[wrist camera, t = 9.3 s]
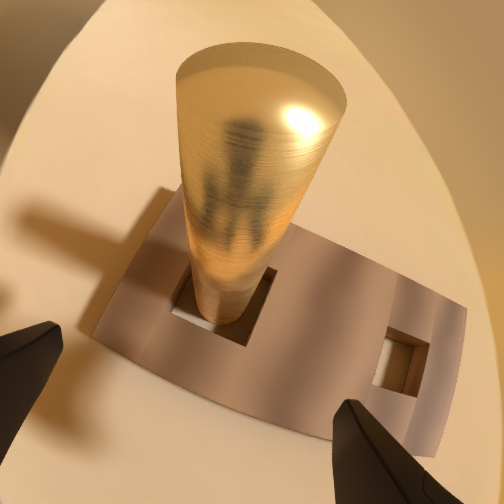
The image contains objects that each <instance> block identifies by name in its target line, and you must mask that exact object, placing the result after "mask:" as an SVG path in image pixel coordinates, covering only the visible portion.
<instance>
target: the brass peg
mask: <svg viewBox="0 0 504 504" xmlns="http://www.w3.org/2000/svg"><path fill="white" fill-rule="evenodd" d="M176 101H177V122H178V139H179V153H180V166H181V179H182V190H183V200H184V210H185V220H186V229H187V237H188V246H189V254H190V262H191V269H192V276H193V284H194V290H195V297H196V304H197V308H198V310H199V312H200V314H201V315H202V316H203V317H204V318H205V319H206V320H207V321H209V322H211V323H214V324H218V325H226V324H230V323H232V322H234V321H236V320H237V319H238V318H239V317H240V316H241V315H242V314H243V312H244V310H245V308H246V307H247V305H248V303H249V301H250V299H251V297H252V295H253V293H254V291H255V289H256V288H257V286H258V284H259V282H260V280H261V278H262V276H263V274H264V272H265V270H266V268H267V266H268V265H269V263H270V261H271V259H272V257H273V255H274V253H275V251H276V249H277V247H278V245H279V243H280V241H281V239H282V237H283V235H284V233H285V232H286V230H287V228H288V226H289V224H290V222H291V220H292V218H293V216H294V214H295V212H296V210H297V208H298V206H299V204H300V202H301V200H302V198H303V196H304V194H305V192H306V190H307V188H308V186H309V184H310V182H311V180H312V178H313V176H314V174H315V172H316V170H317V168H318V166H319V164H320V162H321V160H322V158H323V156H324V154H325V152H326V150H327V148H328V146H329V143H330V141H331V139H332V137H333V135H334V133H335V131H336V129H337V127H338V125H339V123H340V121H341V119H342V117H343V115H344V113H345V110H346V106H347V99H346V95H345V92H344V89H343V88H342V86H341V84H340V83H339V82H338V80H337V79H336V78H335V77H334V76H333V75H332V74H331V73H330V72H329V71H328V70H327V69H325V68H324V67H323V66H321V65H320V64H318V63H317V62H315V61H314V60H312V59H310V58H308V57H306V56H304V55H302V54H299V53H297V52H295V51H292V50H289V49H286V48H282V47H278V46H274V45H269V44H262V43H252V42H236V43H226V44H220V45H215V46H211V47H208V48H205V49H203V50H200V51H198V52H196V53H195V54H193V55H191V56H190V57H189V58H187V59H186V60H185V61H184V62H183V63H182V64H181V66H180V67H179V69H178V71H177V74H176Z"/></svg>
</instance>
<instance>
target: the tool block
mask: <svg viewBox="0 0 504 504" xmlns="http://www.w3.org/2000/svg"><path fill="white" fill-rule="evenodd" d="M191 273H192V269H191V262H190V254H189V246H188V237H187V229H186V220H185V210H184V200H183V190H182V183H181V185H180V186H179V188H178V189H177V191H176V192H175V194H174V195H173V197H172V198H171V200H170V201H169V203H168V204H167V206H166V207H165V209H164V210H163V212H162V213H161V215H160V216H159V218H158V220H157V221H156V223H155V224H154V226H153V227H152V229H151V231H150V232H149V234H148V235H147V237H146V239H145V240H144V242H143V244H142V245H141V247H140V248H139V250H138V252H137V253H136V255H135V257H134V259H133V260H132V262H131V264H130V265H129V267H128V269H127V271H126V272H125V274H124V276H123V278H122V279H121V281H120V283H119V285H118V287H117V288H116V290H115V292H114V294H113V296H112V297H111V299H110V301H109V303H108V305H107V307H106V309H105V311H104V313H103V314H102V316H101V318H100V320H99V322H98V324H97V326H96V328H95V330H94V332H93V334H92V336H91V337H93V338H95V339H96V340H98V341H99V342H101V343H102V344H104V345H106V346H107V347H109V348H111V349H112V350H114V351H116V352H117V353H119V354H121V355H123V356H124V357H126V358H128V359H130V360H131V361H133V362H135V363H137V364H138V365H140V366H142V367H144V368H146V369H148V370H150V371H152V372H153V373H155V374H157V375H159V376H161V377H163V378H165V379H167V380H169V381H171V382H173V383H175V384H177V385H179V386H182V387H184V388H186V389H188V390H190V391H192V392H194V393H197V394H199V395H201V396H203V397H206V398H208V399H210V400H213V401H215V402H217V403H220V404H222V405H225V406H227V407H230V408H232V409H235V410H237V411H240V412H242V413H245V414H248V415H251V416H253V417H256V418H259V419H262V420H265V421H267V422H270V423H273V424H276V425H279V426H283V427H286V428H289V429H292V430H295V431H299V432H302V433H306V434H309V435H313V436H317V437H320V438H324V439H328V440H332V437H333V417H334V415H335V413H336V412H337V410H338V409H339V407H340V406H341V404H342V402H343V401H344V400H345V399H356V400H359V401H360V402H361V403H362V404H363V405H364V407H365V408H366V409H367V410H368V411H369V412H370V413H371V414H372V415H373V416H374V417H375V418H376V419H377V420H378V421H379V422H380V423H381V424H382V426H383V427H384V428H385V429H386V430H387V431H388V432H389V433H390V434H391V435H392V436H393V437H394V438H395V439H396V440H397V441H398V442H399V443H400V444H401V445H402V446H403V447H404V448H405V449H406V450H407V452H408V453H409V454H410V455H413V456H422V457H432V458H435V455H436V452H437V449H438V447H439V444H440V441H441V438H442V435H443V431H444V428H445V425H446V421H447V418H448V414H449V411H450V407H451V403H452V399H453V395H454V391H455V386H456V382H457V377H458V372H459V367H460V361H461V355H462V349H463V342H464V335H465V327H466V317H467V308H465V307H463V306H461V305H459V304H457V303H455V302H454V301H452V300H450V299H448V298H446V297H444V296H442V295H440V294H438V293H436V292H434V291H433V290H431V289H429V288H427V287H425V286H423V285H421V284H419V283H417V282H415V281H413V280H411V279H409V278H407V277H405V276H403V275H401V274H399V273H397V272H395V271H393V270H391V269H389V268H387V267H385V266H383V265H381V264H379V263H376V262H374V261H372V260H370V259H368V258H366V257H364V256H362V255H360V254H358V253H356V252H353V251H351V250H349V249H347V248H345V247H343V246H341V245H338V244H336V243H334V242H332V241H330V240H328V239H325V238H323V237H321V236H319V235H317V234H314V233H312V232H310V231H308V230H306V229H303V228H301V227H299V226H297V225H294V224H292V223H290V224H289V226H288V228H287V230H286V232H285V233H284V235H283V237H282V239H281V241H280V243H279V245H278V247H277V249H276V251H275V253H274V255H273V257H272V259H271V261H270V263H269V265H268V266H267V268H266V270H265V272H264V274H263V276H262V277H263V278H265V279H268V280H270V281H271V283H270V286H269V288H268V290H267V293H266V295H265V298H264V300H263V302H262V305H261V307H260V310H259V312H258V314H257V317H256V319H255V321H254V324H253V326H252V329H251V331H250V333H249V336H248V338H247V340H246V343H245V345H244V346H242V345H240V344H237V343H235V342H233V341H230V340H228V339H226V338H224V337H221V336H219V335H217V334H215V333H212V332H210V331H208V330H206V329H204V328H202V327H199V326H197V325H195V324H193V323H191V322H189V321H187V320H185V319H183V318H181V317H178V316H176V315H174V314H172V313H171V311H172V309H173V308H174V306H175V304H176V302H177V300H178V298H179V296H180V294H181V292H182V290H183V288H184V286H185V284H186V282H187V280H188V278H189V276H190V274H191ZM385 336H386V337H388V338H391V339H393V340H396V341H398V342H401V343H403V344H406V345H408V346H411V347H414V349H413V353H412V358H411V362H410V366H409V370H408V374H407V378H406V381H405V385H404V388H403V392H402V394H401V393H398V392H394V391H391V390H388V389H384V388H381V387H378V386H375V385H372V381H373V378H374V375H375V372H376V368H377V365H378V361H379V358H380V354H381V350H382V346H383V343H384V339H385Z"/></svg>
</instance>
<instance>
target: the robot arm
mask: <svg viewBox="0 0 504 504" xmlns="http://www.w3.org/2000/svg"><path fill="white" fill-rule="evenodd" d="M62 350H63V340H62V333H61V327H60V326H59V325H58V324H56V323H54V322H52V321H46V322H43V323H40V324H37V325H34V326H31V327H28V328H25V329H22V330H18V331H15V332H12V333H9V334H6V335H3V336H0V465H1V463H2V461H3V459H4V457H5V455H6V453H7V451H8V449H9V447H10V446H11V444H12V442H13V440H14V438H15V436H16V434H17V433H18V431H19V429H20V427H21V425H22V424H23V422H24V420H25V418H26V417H27V415H28V413H29V412H30V410H31V408H32V406H33V405H34V403H35V401H36V400H37V398H38V397H39V395H40V393H41V392H42V390H43V388H44V387H45V385H46V383H47V381H48V379H49V377H50V374H51V372H52V370H53V368H54V366H55V364H56V362H57V360H58V358H59V357H60V355H61V353H62ZM332 467H333V478H334V489H335V502H336V504H464V503H462V502H461V501H460V500H458V499H457V498H456V497H455V496H453V495H452V494H451V493H450V492H449V491H447V490H446V489H445V488H444V487H443V486H442V485H441V484H439V483H438V482H437V481H436V480H435V479H434V478H433V477H432V476H431V475H430V474H429V473H428V472H427V471H426V470H424V468H423V467H422V466H421V465H420V464H419V463H418V462H417V461H416V460H415V459H414V458H413V457H412V456H411V455H410V454H409V453H408V452H407V450H406V449H405V448H404V447H403V446H402V445H401V444H400V443H399V442H398V441H397V440H396V439H395V438H394V437H393V436H392V435H391V434H390V433H389V432H388V431H387V430H386V429H385V428H384V427H383V426H382V424H381V423H380V422H379V421H378V420H377V419H376V418H375V417H374V416H373V415H372V414H371V413H370V412H369V411H368V410H367V409H366V408H365V407H364V405H363V404H362V403H361V402H360V401H359V400H356V399H345V400H344V401H343V402H342V404H341V406H340V407H339V409H338V410H337V412H336V413H335V415H334V417H333V437H332Z"/></svg>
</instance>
